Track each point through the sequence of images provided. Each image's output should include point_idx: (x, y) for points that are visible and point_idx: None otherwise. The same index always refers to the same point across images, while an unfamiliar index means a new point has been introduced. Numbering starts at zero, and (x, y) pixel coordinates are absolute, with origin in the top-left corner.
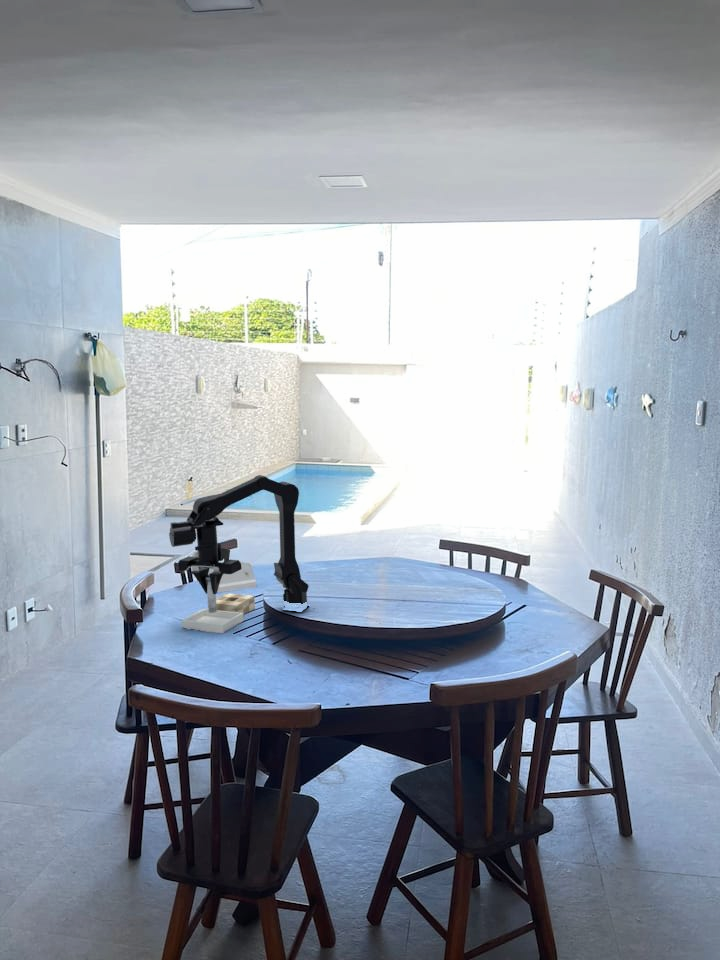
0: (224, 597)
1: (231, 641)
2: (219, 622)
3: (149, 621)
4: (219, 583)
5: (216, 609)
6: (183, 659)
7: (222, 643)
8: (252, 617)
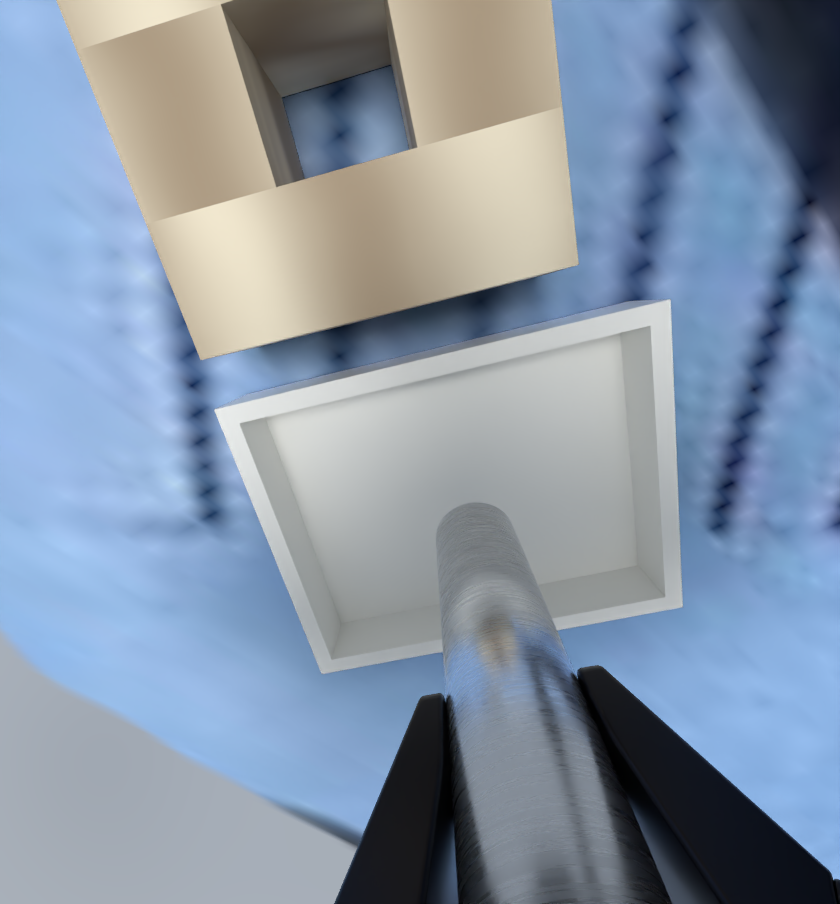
0: (165, 71)
1: (781, 624)
2: (495, 459)
3: (32, 642)
4: (800, 848)
5: (514, 531)
6: None
7: (744, 665)
8: (645, 173)
